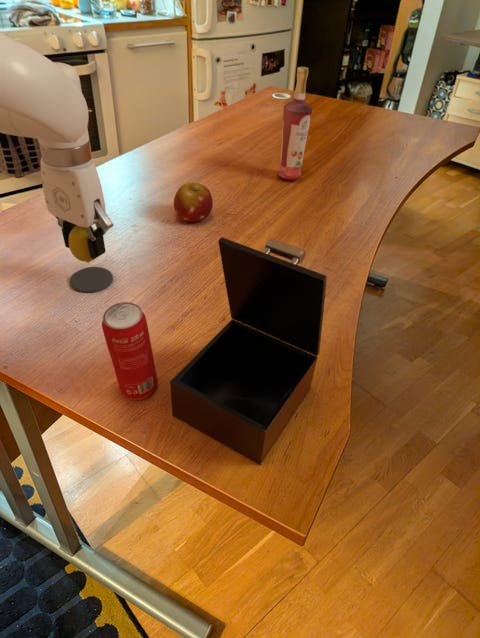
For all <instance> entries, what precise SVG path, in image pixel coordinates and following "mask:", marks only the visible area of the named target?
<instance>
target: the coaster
mask: <svg viewBox="0 0 480 638" xmlns="http://www.w3.org/2000/svg"><path fill="white" fill-rule="evenodd" d="M113 281H114V277H113V273H112V272H111V271H110V270H109V269H107V268H105V267H102V266H89V267H85V268H81V269H79V270H77V271H75V272H74V273H73V274H71V276H70V278H69V284H70V287H71V288H72V290H74V291H76V292H78V293H81V294H83V293H84V294H94V293H99V292H101V291H104V290H106V289H107V288H109V287H110V286H111V285H112V283H113Z"/></svg>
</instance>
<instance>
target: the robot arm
mask: <svg viewBox="0 0 480 638" xmlns="http://www.w3.org/2000/svg"><path fill="white" fill-rule="evenodd" d="M89 119H90V117H89V108H88V104H87V101H86V98H85V96H84V94H83V91H82V83H81V79H80V76H79V72H78V71H77V69H76V68H75V67H74V66H72V65H71V64H67V63H64V62H58V61H52V60H51V59H49V58H48V57H46V56H45V55H43V54H42V53H40V51H37V50H35V49H33V48H31V47H29V45H26V44H24V43H22V42H20V41H18V40H17V39H14V38H12V37H10V36H9V35H7V34H5V33H2V32H1V31H0V134H5V135H9V136H14V137H15V136H16V137H23V138H31V139H35V140H36V139H37V141H38V145H39V149H40V150H39V151H40V154H41V158H40V175H41V176H40V177H41V184H42V190H43V197H44V201H45V205H46V208H47V210H48V212H49V214H51V215H52V216H54V217H55V218H56V220H57V225H58V226H59V228H61V234H62V237H63V242H64V246H65V248H67V249H70V247H69V234H70V231H71V230H72V229H73V228H74V227H75V226H77V225H78V226H80V227H83V228H85V229H86V231H87V233H88V236H89V239H88V240H87V242H88V247H89V252H90V257H91V258H92V259H94V260H96V259H97V258H99V257H100V256H102V255H104V254H105V253H106V251H107V249H106V245H105V244H106V243H105V238H104V235H106V233H107V232H108V231H109V230H110V229H112V228H113V227H114V222H113V221H112V219H111V218H110V217H109V215H108V214H107V209H106V203H105V197H104V196H105V195H104V192H103V188H102V184H101V180H100V176H99V172H98V170H97V167H96V164H95V162H94V161H93V154H92V146H91V142H90V134H89V129H88V128H89V127H88V125H89ZM94 225H95V227H96V229H95V231H93V228H94V227H93V226H94ZM92 227H93V228H92ZM95 258H96V259H95Z"/></svg>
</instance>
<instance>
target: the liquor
mask: <svg viewBox="0 0 480 638" xmlns="http://www.w3.org/2000/svg"><path fill="white" fill-rule="evenodd" d="M308 76H309V67H308V66H307V67H306V66H298V67H297V70H296V85H295V90H294V94H293V100H291V101H288V102H287V103H285V105H284V106H283V113H282V114H283V115H282V126H281V127H282V129H281V147H280V158H279V159H280V160H279V169H278V170H277V175H278V176H279V177H280V178H281V179H282V180H283V181H286V182H295V181H298V179H300V178H302V176H303V173H302V167H303V160H304V155H305V150H306V149H305V148H306V145H307V140H308V139H307V138H308V135H309V129H310V124H311V123H310V122H311V119H312V118H311V117H312V113H313V107H312V106H311V105H310V104H309V103H308V102H306V89H307V79H308Z"/></svg>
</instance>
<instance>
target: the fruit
mask: <svg viewBox="0 0 480 638" xmlns="http://www.w3.org/2000/svg"><path fill="white" fill-rule="evenodd" d="M213 202H214V201H213V196H212V193H211V191H210V189H209V188H208V187H207V186H205V185H204V184H202V183H199V182H191V181H190V182H186V183H183V184H182V185H180V187H179V188H178V189H177V191H176V193H175V195H174V197H173V209H174V211H175V213H176V215H177V216H178V218H180V219H181V220H183V221H185V222H191V223H198V222H202V221H205V220H206V219H207V218H208V217H209V216H210V215H211V213H212V210H213V205H214V203H213Z"/></svg>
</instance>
